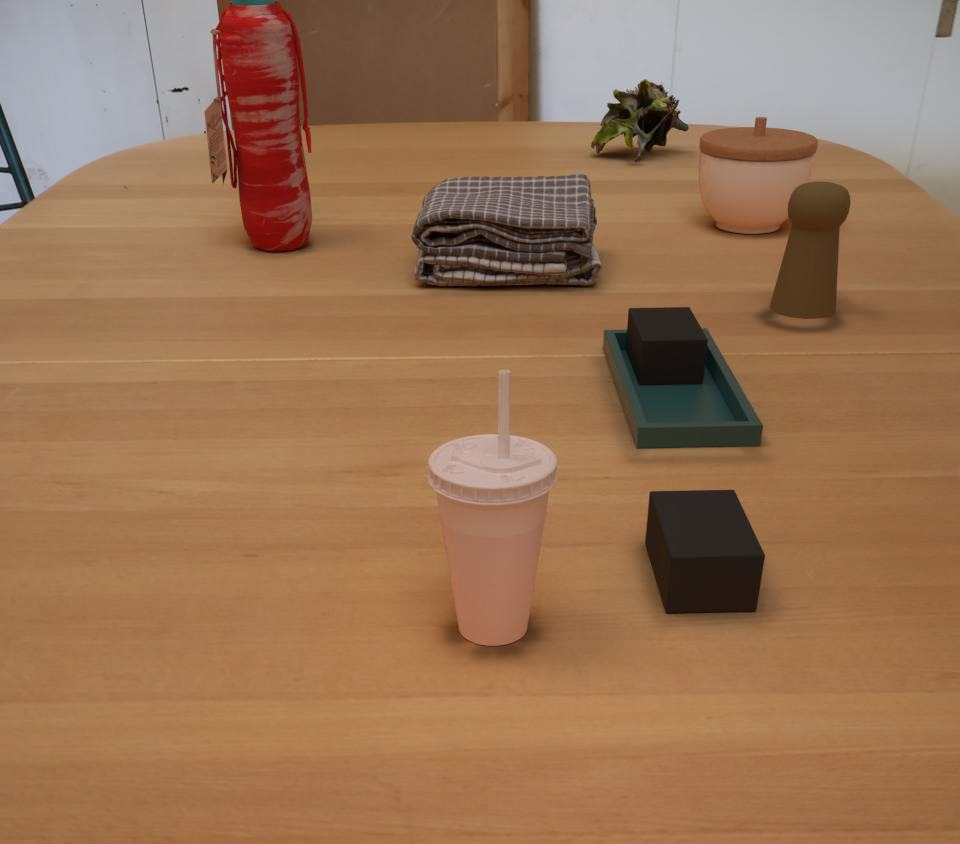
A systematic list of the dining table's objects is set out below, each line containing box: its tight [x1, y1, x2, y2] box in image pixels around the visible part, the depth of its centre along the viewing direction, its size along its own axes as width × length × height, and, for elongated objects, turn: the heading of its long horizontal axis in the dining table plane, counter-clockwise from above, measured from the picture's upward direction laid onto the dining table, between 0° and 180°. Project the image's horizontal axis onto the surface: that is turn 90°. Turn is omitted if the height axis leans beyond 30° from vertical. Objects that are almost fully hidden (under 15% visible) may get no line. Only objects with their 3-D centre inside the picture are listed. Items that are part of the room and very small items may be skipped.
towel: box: [410, 173, 603, 287], centre depth 112 cm, size 15×18×8 cm
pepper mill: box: [769, 181, 851, 320], centre depth 99 cm, size 6×6×11 cm
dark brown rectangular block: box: [626, 306, 708, 385], centre depth 89 cm, size 8×5×4 cm, turn 2°
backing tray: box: [602, 327, 764, 450], centre depth 86 cm, size 21×9×2 cm, turn 1°
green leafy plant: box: [590, 78, 690, 163], centre depth 158 cm, size 11×11×12 cm
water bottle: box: [203, 0, 313, 253], centre depth 116 cm, size 12×8×25 cm, turn 81°
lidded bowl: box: [698, 116, 819, 235], centre depth 125 cm, size 13×13×11 cm
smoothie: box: [427, 369, 558, 647], centre depth 56 cm, size 6×6×14 cm
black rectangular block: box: [644, 489, 766, 614], centre depth 64 cm, size 8×5×4 cm, turn 2°
